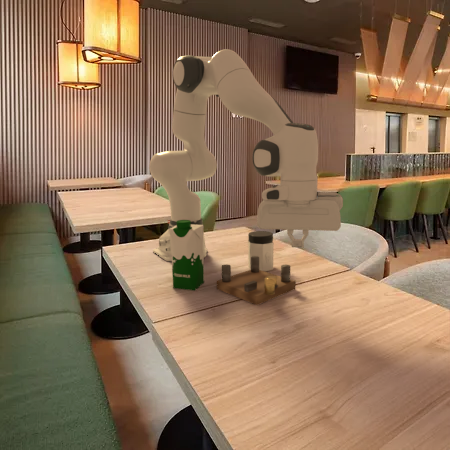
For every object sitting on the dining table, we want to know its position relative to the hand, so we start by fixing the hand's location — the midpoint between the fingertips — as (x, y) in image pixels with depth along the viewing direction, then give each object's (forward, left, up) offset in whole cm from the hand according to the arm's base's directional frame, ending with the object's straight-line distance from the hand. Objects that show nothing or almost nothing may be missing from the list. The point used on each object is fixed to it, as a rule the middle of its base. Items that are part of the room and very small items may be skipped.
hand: (297, 246), depth 96 cm
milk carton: (-31, -11, -16) cm, 37 cm away
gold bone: (-8, -1, -13) cm, 15 cm away
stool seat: (-15, +1, -16) cm, 22 cm away
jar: (-27, +16, -16) cm, 35 cm away
